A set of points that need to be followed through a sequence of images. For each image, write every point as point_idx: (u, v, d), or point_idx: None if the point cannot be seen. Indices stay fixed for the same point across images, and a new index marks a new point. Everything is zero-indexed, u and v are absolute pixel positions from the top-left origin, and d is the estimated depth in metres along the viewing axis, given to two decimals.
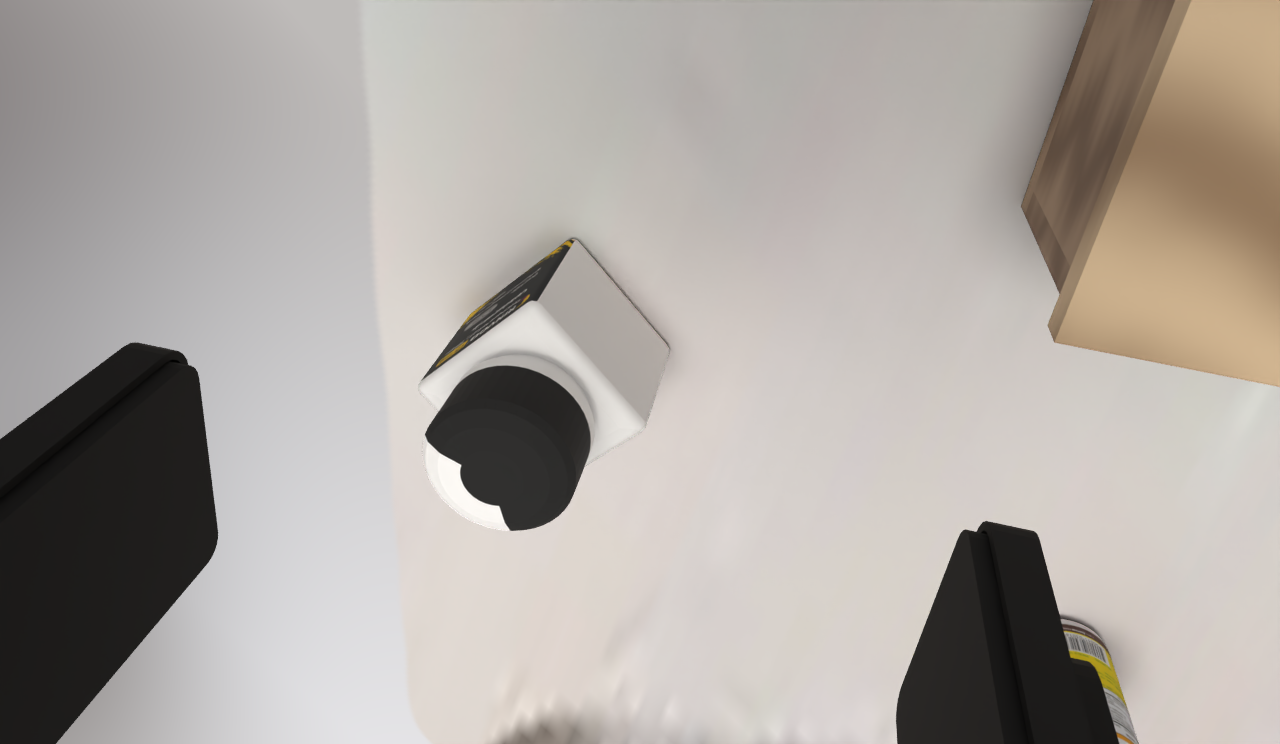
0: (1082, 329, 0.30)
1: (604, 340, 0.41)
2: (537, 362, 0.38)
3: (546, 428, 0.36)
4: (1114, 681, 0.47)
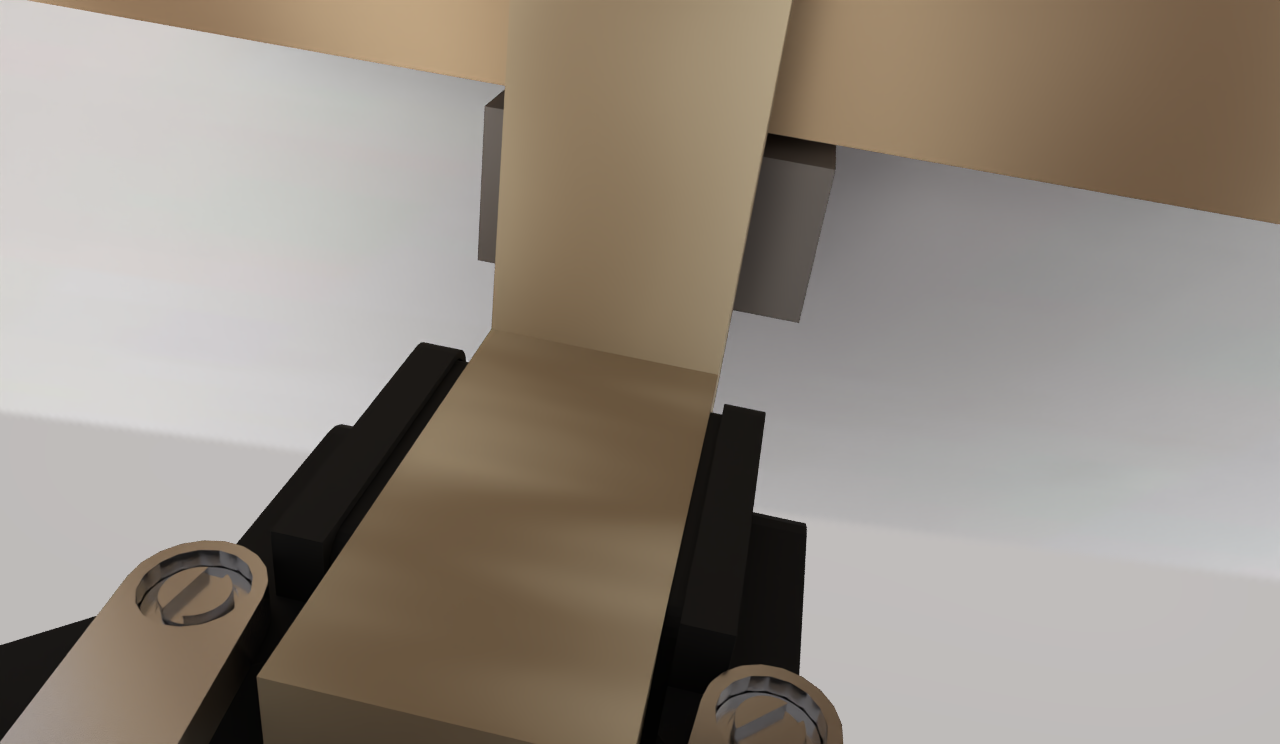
0: None
1: None
2: None
3: None
4: None
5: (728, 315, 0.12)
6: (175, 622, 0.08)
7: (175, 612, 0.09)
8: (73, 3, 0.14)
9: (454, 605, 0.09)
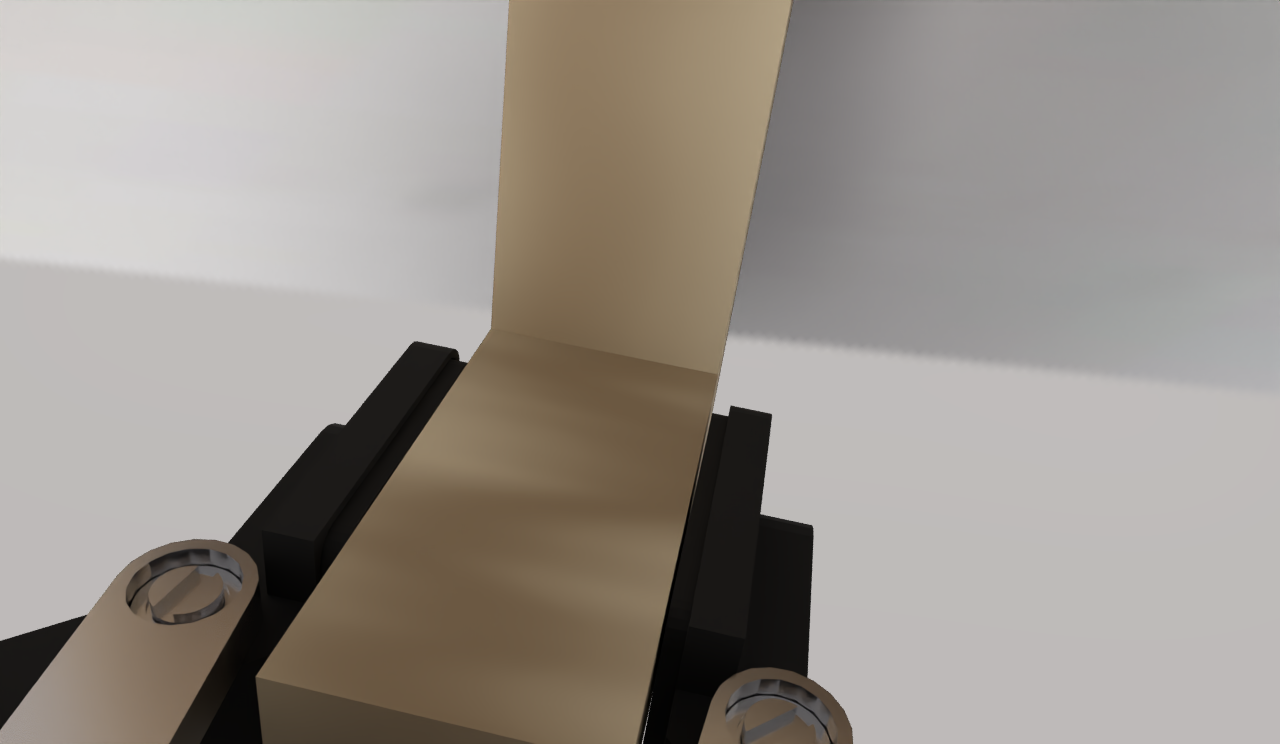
0: None
1: None
2: None
3: None
4: None
5: (728, 315, 0.12)
6: (166, 621, 0.08)
7: (166, 611, 0.09)
8: None
9: (454, 604, 0.09)
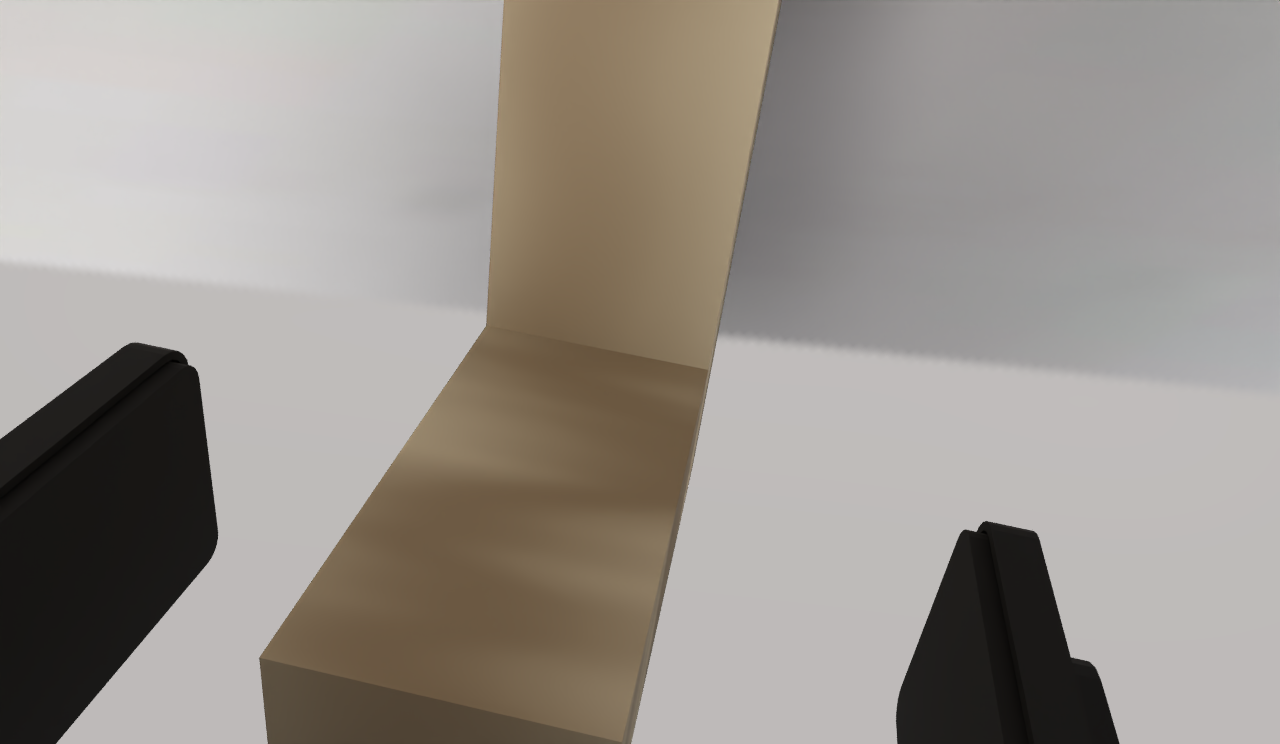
0: None
1: None
2: None
3: None
4: None
5: (718, 311, 0.12)
6: None
7: None
8: None
9: (450, 590, 0.09)
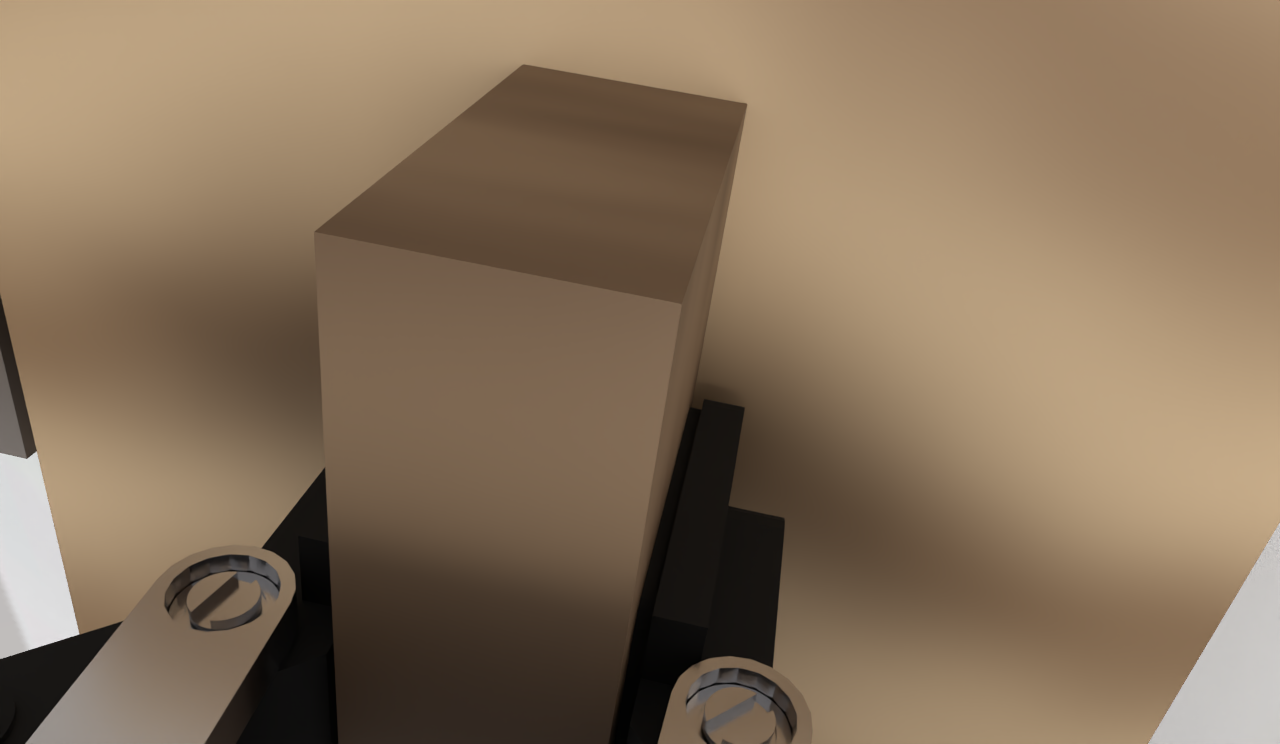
0: None
1: None
2: None
3: None
4: None
5: None
6: (203, 626, 0.08)
7: (203, 616, 0.09)
8: None
9: None
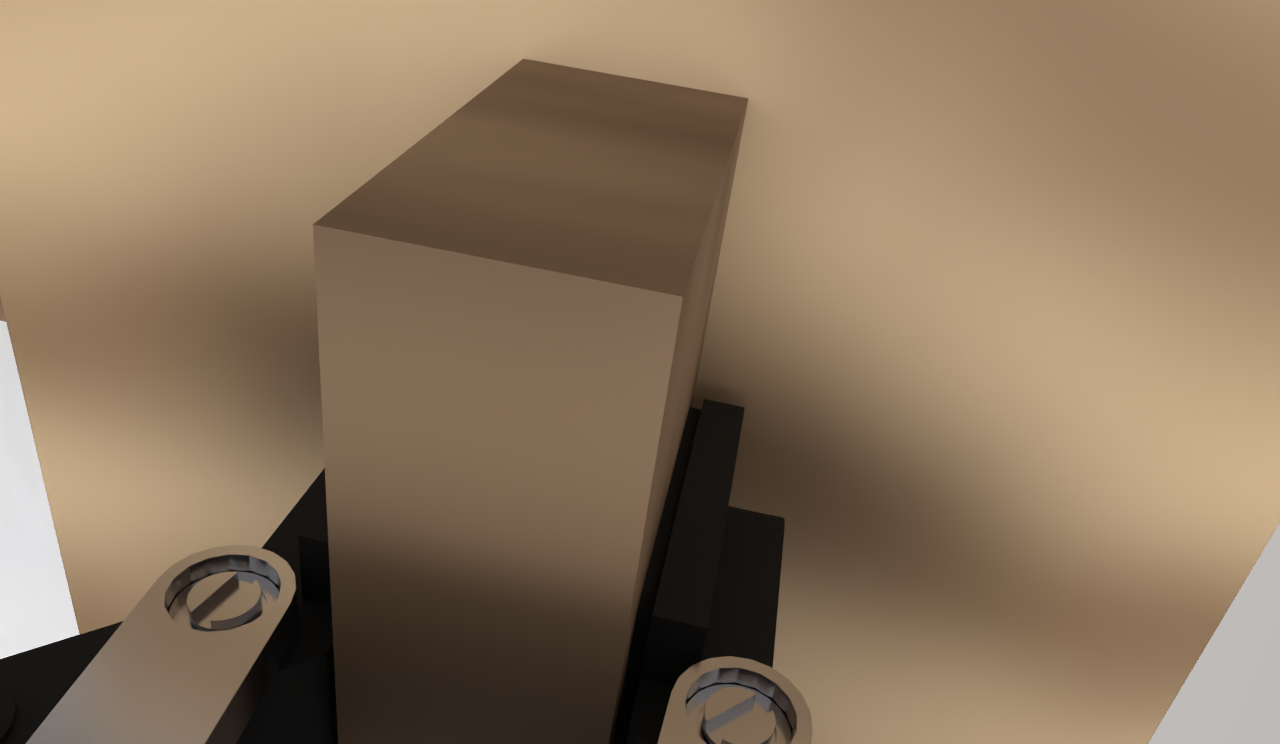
0: None
1: None
2: None
3: None
4: None
5: None
6: (203, 627, 0.08)
7: (203, 616, 0.09)
8: None
9: None
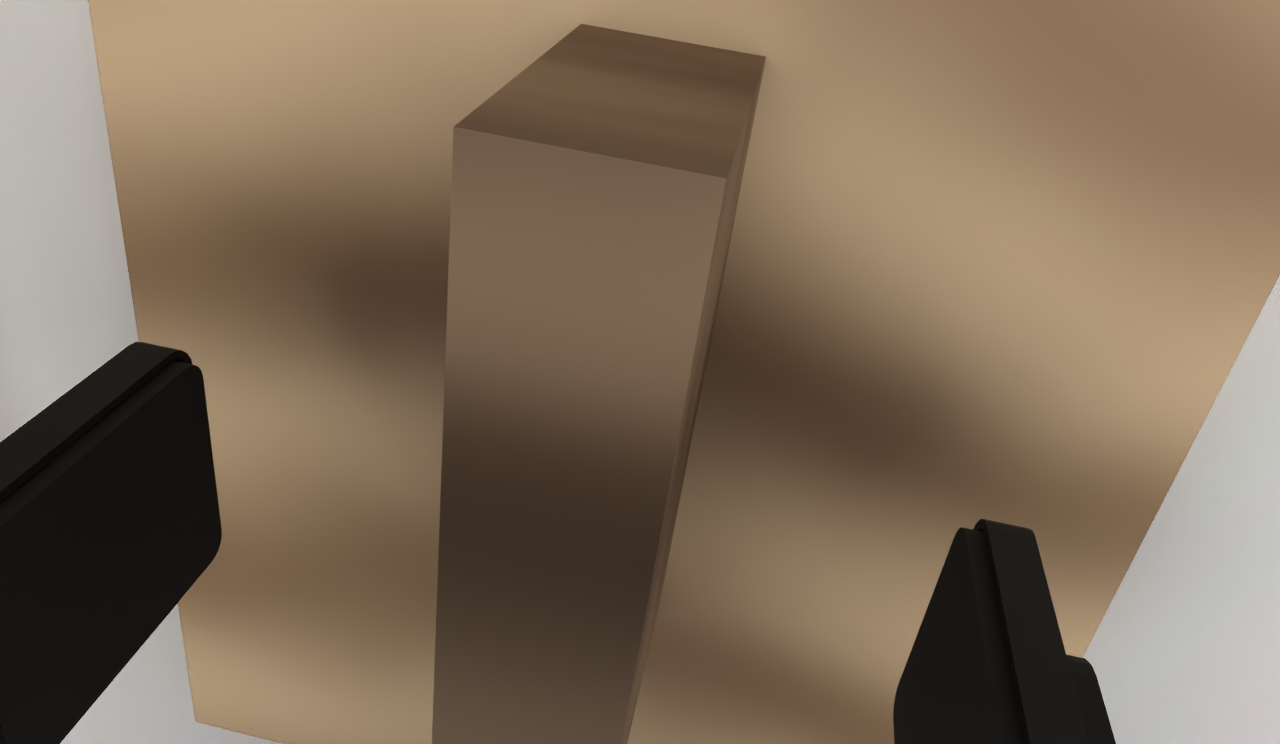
0: None
1: None
2: None
3: None
4: None
5: None
6: None
7: None
8: None
9: None
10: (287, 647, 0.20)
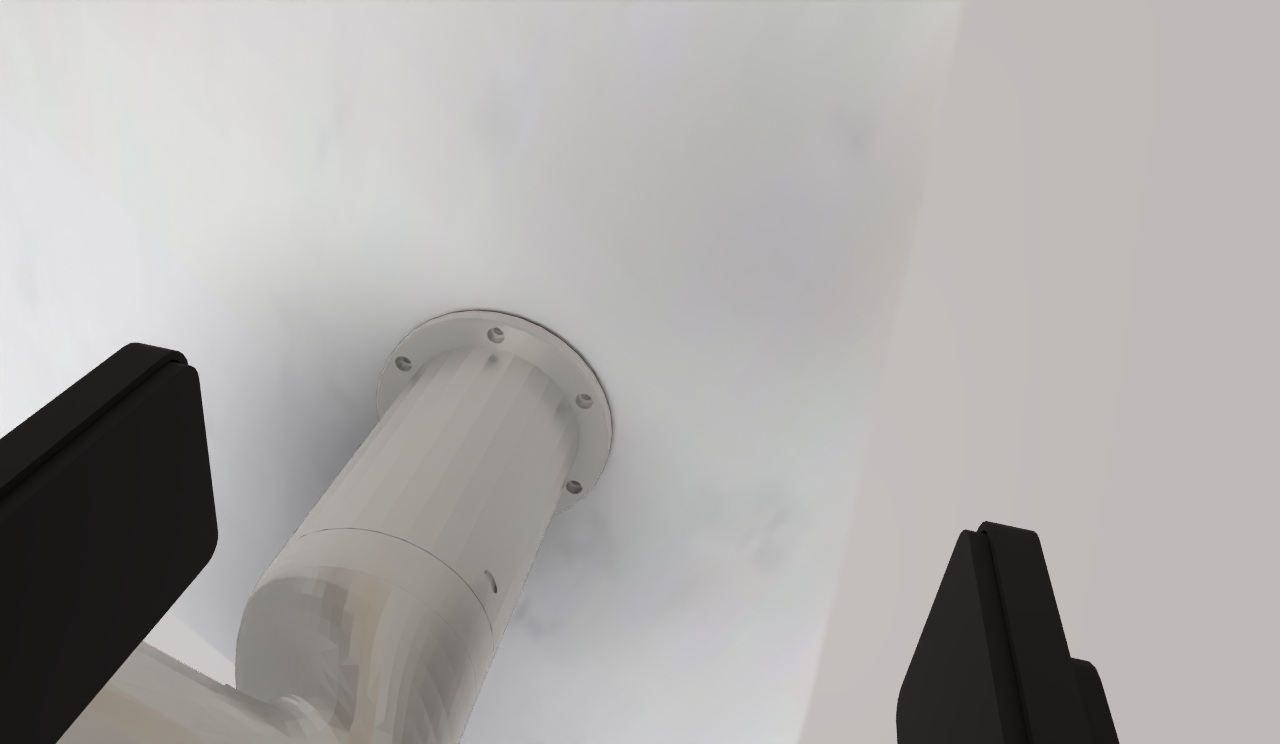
0: None
1: None
2: None
3: None
4: None
5: None
6: None
7: None
8: None
9: None
10: None
